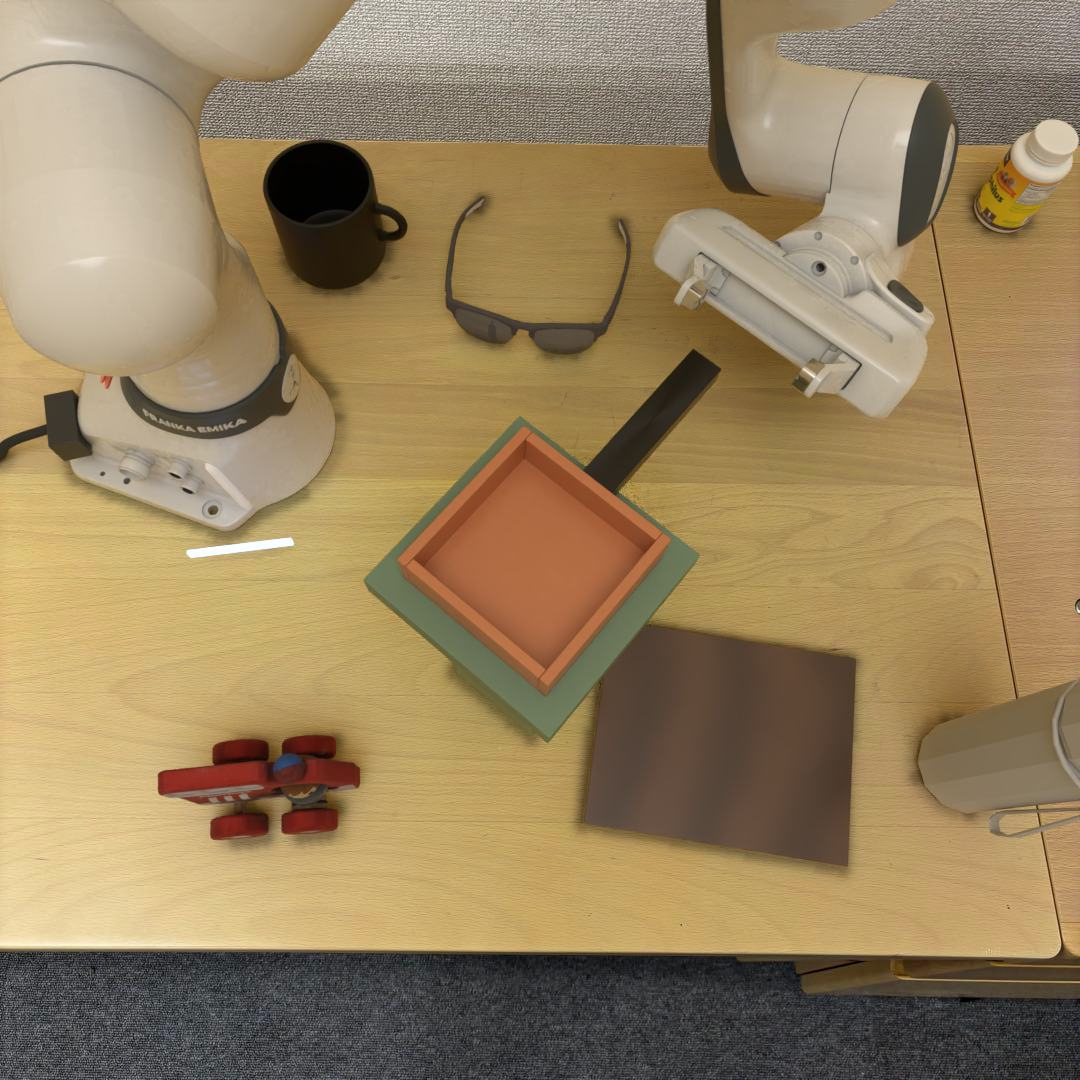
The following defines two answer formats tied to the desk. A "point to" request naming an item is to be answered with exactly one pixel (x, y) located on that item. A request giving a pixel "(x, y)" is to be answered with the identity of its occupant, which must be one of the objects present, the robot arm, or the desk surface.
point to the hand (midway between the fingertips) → (745, 340)
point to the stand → (488, 668)
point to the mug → (328, 213)
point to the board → (725, 745)
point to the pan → (551, 539)
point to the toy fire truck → (266, 784)
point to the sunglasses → (542, 334)
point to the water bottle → (1009, 757)
